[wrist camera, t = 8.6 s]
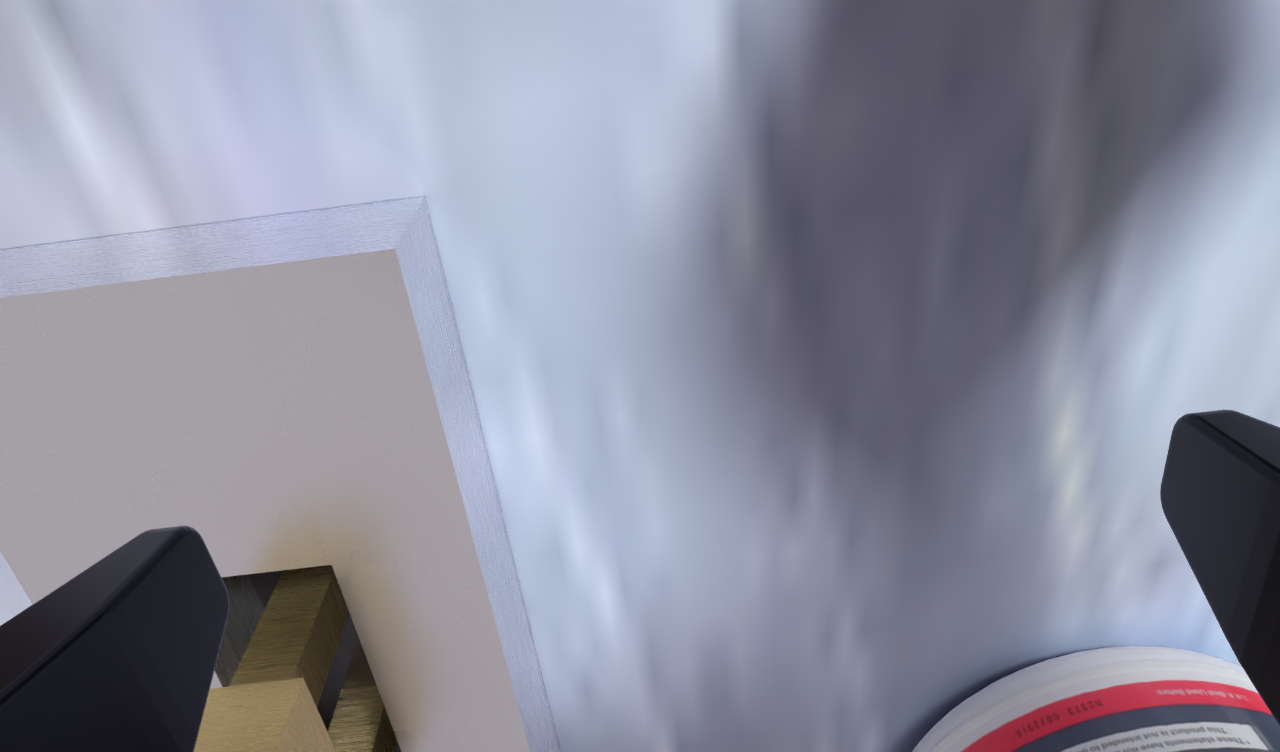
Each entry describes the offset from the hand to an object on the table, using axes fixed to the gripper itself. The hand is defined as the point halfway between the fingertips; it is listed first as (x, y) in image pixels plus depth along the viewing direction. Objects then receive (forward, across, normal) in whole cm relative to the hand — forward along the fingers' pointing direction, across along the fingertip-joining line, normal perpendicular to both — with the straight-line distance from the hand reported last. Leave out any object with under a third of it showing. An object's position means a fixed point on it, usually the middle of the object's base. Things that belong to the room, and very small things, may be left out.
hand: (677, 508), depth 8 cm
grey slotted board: (+11, +10, +12) cm, 19 cm away
